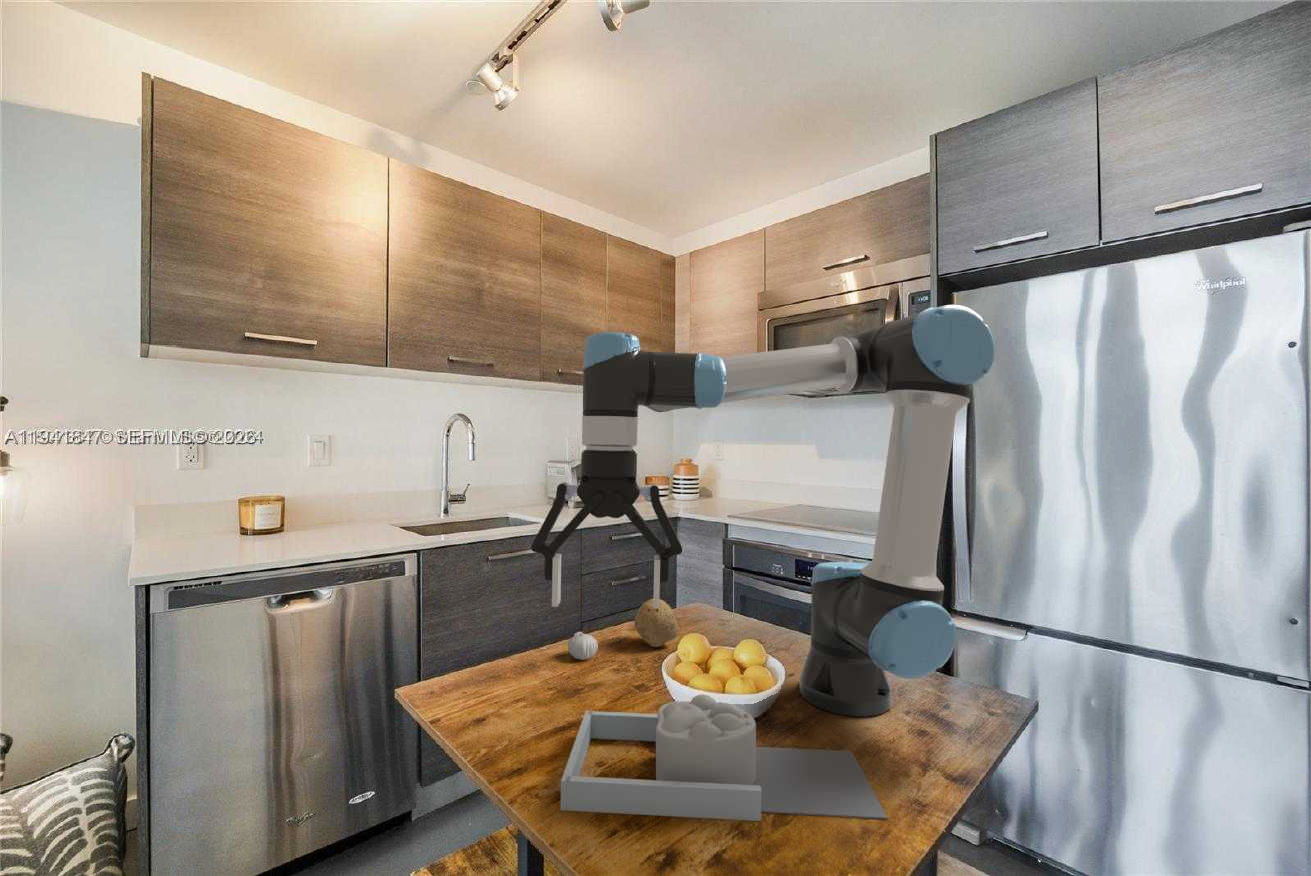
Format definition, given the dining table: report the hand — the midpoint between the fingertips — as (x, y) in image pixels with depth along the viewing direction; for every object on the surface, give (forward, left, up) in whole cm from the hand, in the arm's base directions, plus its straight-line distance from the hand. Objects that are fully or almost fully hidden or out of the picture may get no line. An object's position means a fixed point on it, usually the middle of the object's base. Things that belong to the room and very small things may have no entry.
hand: (606, 604), depth 77 cm
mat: (-26, +2, -21) cm, 34 cm away
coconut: (-5, -43, -22) cm, 48 cm away
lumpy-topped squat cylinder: (-14, +2, -21) cm, 26 cm away
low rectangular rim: (-8, +2, -21) cm, 23 cm away
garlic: (+9, -35, -22) cm, 42 cm away
